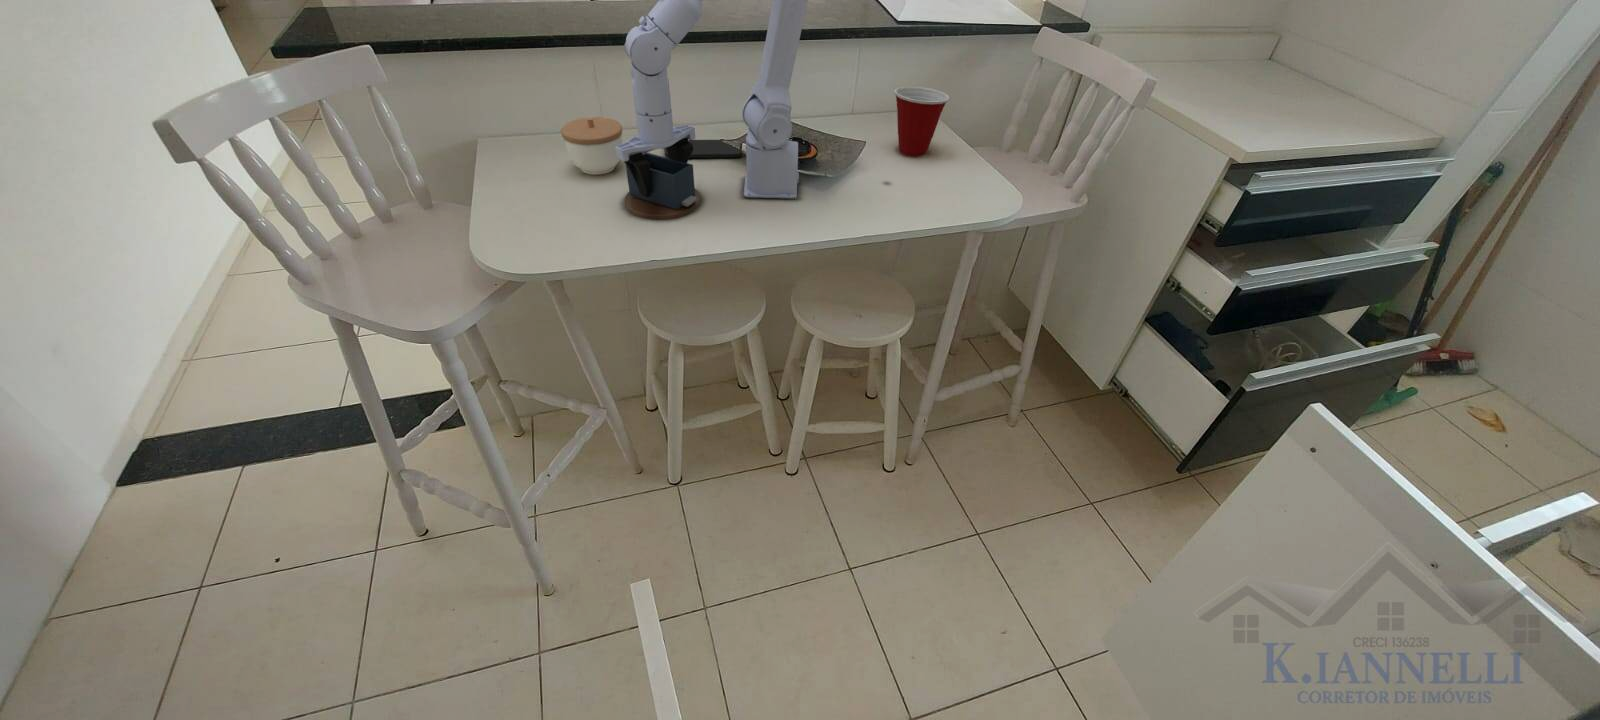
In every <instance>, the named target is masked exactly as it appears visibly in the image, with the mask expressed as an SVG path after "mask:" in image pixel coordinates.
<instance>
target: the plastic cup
mask: <svg viewBox="0 0 1600 720" xmlns="http://www.w3.org/2000/svg"><path fill="white" fill-rule="evenodd" d="M894 95H895V99H896V100H895V101H896V113H897V117H896V118H897V120H896V121H897V136H898V138H897V140H898V141H897V143H898V151H899V153H901V154H902V155H904V156H906V157H913V158H919V157H923V156H926V154H927V153H928V151H929V149H930V145H931V143H932V139H933V138H934V135H935V132H936V129H937V125H938V123H939V120H940V117H941V115H942V113H943V110H944V108H945V106H946V104H947V102H949V100H950V96H949V95H948V94H947V93H945V92H943V91H941V90H937V89H934V88H929V87H923V86H900V87H897V88H895V89H894Z"/></svg>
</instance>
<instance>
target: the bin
mask: <svg viewBox="0 0 1600 720" xmlns="http://www.w3.org/2000/svg"><path fill="white" fill-rule="evenodd" d="M642 155H643V157H645V160H647V161H649V162H651V165H650V172H649V183H650V197H645V196H643V195H641V194H640V192H639V189H638V186H637V184H636V182H635V179H634V177H633V175H632V174H631V172H630V170H629V169H628V167H627V166H626V165H625V169H626V170H625V171H626V177H627V184H628V185H627V186H628V192H630V196H633V197H636V198H640V199H643V200H647V201H650V202H653V203H657V204H660V205H663V206H667V207H670V208H673V209H679V208H680V207H682V206H687V207H688V206H689V205H691V204H692V203H693V202H695V201H696V200H697V198H696V197H695V189H696V187H695V175H694V174H695V173H694V164H692V163H688V162H687V163H685V162H681V161H677V160H674V159H670V158H668V157H666V156H662V155H658V154H654V153H651V152H646V153H643V154H642Z"/></svg>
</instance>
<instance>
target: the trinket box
mask: <svg viewBox="0 0 1600 720" xmlns="http://www.w3.org/2000/svg"><path fill="white" fill-rule="evenodd" d="M560 132H561V136H562V139H563V143H564V147H565V151H566V153H567V156H568V157H569V159H570V160H571V162H572V163H573V164H574V165H575V166H576V167H577V168H579V169H580V170H581V171H582V172H583V173H585V174H586V175H587V174H588V175H592V176H598V175H599V176H600V175H605V174H609V173H611V172H613V171H614V170H615V169H616V166H617V165H618V164H619V162H620V161H621V160H620V159H618V158H617V154H616V146H619V145H621V144H623V143H624V137H623V126H622V124H621V123H620V122H619V121H617V120H615V119H613V118H607V117H601V116H591V117H582V118H577V119H573V120H571V121H568V122H566V123H565V124H563V126H562V127H561V129H560Z"/></svg>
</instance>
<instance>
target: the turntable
mask: <svg viewBox="0 0 1600 720" xmlns="http://www.w3.org/2000/svg"><path fill="white" fill-rule="evenodd" d="M695 197H696V198H697V200H696V201H695V202H693V203H692V204H691V205H689V206H688V207H687V206H682V207H680V208H679V209H673V208H670V207H667V206H663V205H660V204H657V203H653V202H650V201H647V200H643V199H640V198H636V197H633V196H630V192H629V191H628V192H627V193H626V195H625V197H624V204H625V208H626V210H627V211H628V212H630V213H631V214H633V215H635V216H637V217H639V218H643V219H647V220H648V219H649V220H672V219H677V218H682V217H684V216H687V215H689V214H691V213H693V212H694V211H696V210H697V209H698V208H699V206H700V205H701V194H700V192H699V190H697V188H695Z"/></svg>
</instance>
